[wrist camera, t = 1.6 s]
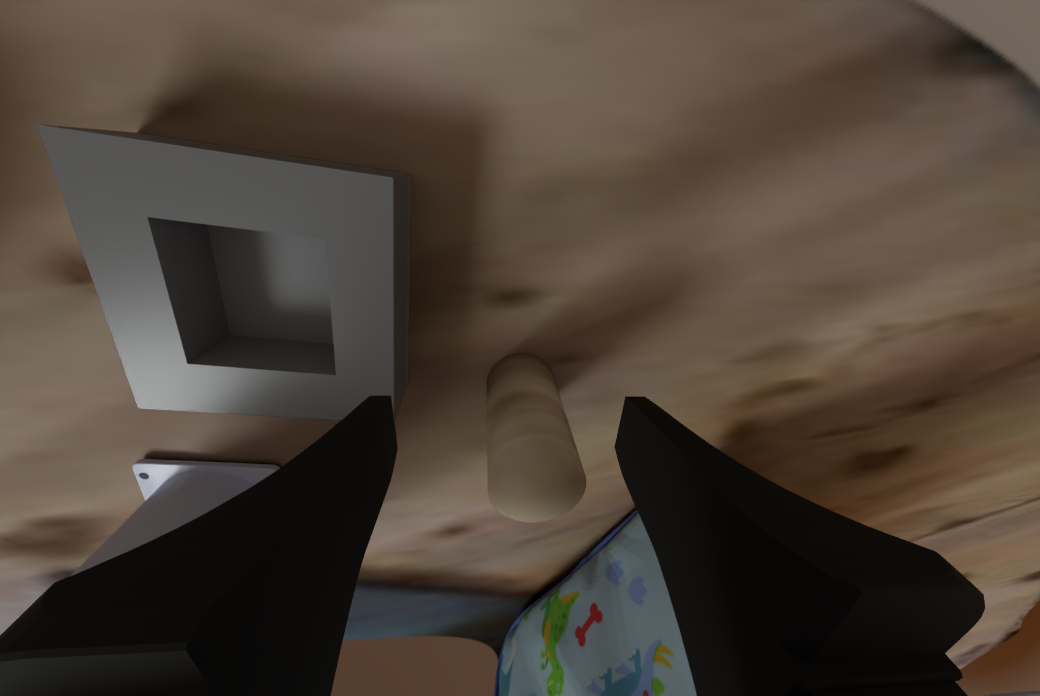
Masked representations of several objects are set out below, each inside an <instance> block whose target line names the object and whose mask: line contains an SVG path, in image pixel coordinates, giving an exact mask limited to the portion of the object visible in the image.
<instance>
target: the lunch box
mask: <svg viewBox="0 0 1040 696" xmlns="http://www.w3.org/2000/svg"><path fill="white" fill-rule="evenodd" d="M494 696H697V695H696V690H695V686H694V682H693V678H692V674H691V671H690V667H689V663H688V660H687V656H686V652H685V648H684V645H683V641H682V637H681V634H680V630H679V627H678V623H677V620H676V617H675V613H674V610H673V606H672V603H671V600H670V596H669V593H668V590H667V587H666V584H665V580H664V577H663V574H662V571H661V568H660V565H659V562H658V559H657V556H656V553H655V551H654V548H653V546H652V543H651V541H650V538H649V536H648V534H647V532H646V529H645V527H644V525H643V522H642V520H641V518H640V515H639V513H638V511H637V509H636V510H635V511H634V512H633V513H632V514H631V515H630V516H629V517H628V518H627V519H626V520H625V521H624V522H622V523H621V524H620V525H619V526H618V527H617V528H616V529H615V530H614V531H612V532H611V533H610V534H609V535H608V536H607V537H606V538H605V539H604V540H603V541H602V542H600V543H599V544H598V545H597V546H596V547H595V548H594V549H593V550H592V551H591V552H590V553H589V554H588V556H586V557H584V558H583V559H582V561H581V562H580V563H579V564H578V566H577V567H576V568H575V569H574V571H573V572H571V573H570V574H569V575H568V576H567V577H566V578H564V579H563V580H562V581H561V582H560V583H559V584H557V585H556V586H555V587H553V588H552V589H551V590H550V591H548V592H547V593H546V594H544V595H543V596H542V597H541V598H539V599H538V600H537V601H536V602H534V603H533V604H531V605H530V606H529V607H528V608H527V609H526V610H524V611H523V612H522V613H521V614H520V616H519V617H518V618H517V619H516V620H515V622H514V623H513V625H512V626H511V628H510V630H509V632H508V634H507V636H506V638H505V641H504V644H503V647H502V650H501V654H500V658H499V662H498V667H497V672H496V681H495V693H494Z"/></svg>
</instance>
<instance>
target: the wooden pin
mask: <svg viewBox="0 0 1040 696" xmlns="http://www.w3.org/2000/svg"><path fill="white" fill-rule="evenodd" d="M487 456H488V496H489V499H490V501H491V503H492V505H493V506H494V508H495V509H496V510H497V511H498V512H500V513H501V514H502V515H504V516H506V517H508V518H510V519H513V520H516V521H521V522H542V521H547V520H551V519H554V518H557V517H559V516H561V515H563V514H565V513H566V512H568V511H570V510H571V509H572V508H573V507H574V506H575V505H576V504H577V503H578V502H579V501H580V499H581V498H582V496H583V494H584V491H585V488H586V476H585V473H584V470H583V467H582V464H581V461H580V458H579V454H578V451H577V448H576V445H575V442H574V439H573V436H572V433H571V430H570V427H569V423H568V420H567V417H566V414H565V411H564V408H563V405H562V402H561V399H560V396H559V392H558V389H557V386H556V383H555V380H554V377H553V374H552V371H551V369H550V368H549V366H548V365H547V364H546V363H545V362H544V361H543V360H541V359H540V358H538V357H536V356H533V355H528V354H515V355H511V356H508V357H506V358H504V359H502V360H500V361H499V362H498V363H496V364H495V365H494V367H493V368H492V369H491V371H490V373H489V375H488V378H487Z"/></svg>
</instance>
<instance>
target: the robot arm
mask: <svg viewBox="0 0 1040 696" xmlns="http://www.w3.org/2000/svg"><path fill="white" fill-rule="evenodd" d="M397 449H398V448H397V440H396V432H395V424H394V416H393V407H392V399H391V396H369V397H368V398H367V399H365V400H364V401H363V402H362V403H361V404H360V405H358V406H357V407H356V408H355V409H354V410H353V411H352V412H350V413H349V414H348V415H347V416H346V417H345V418H344V419H342V420H341V421H340V422H339V423H338V424H336V425H335V426H334V427H333V428H332V429H331V430H329V431H328V432H327V433H326V434H325V435H323V436H322V437H321V438H320V439H318V440H317V441H316V442H314V443H313V444H312V445H311V446H309V447H308V448H307V449H305V450H304V451H303V452H301V453H300V454H299V455H297V456H296V457H295V458H294V459H292V460H291V461H289V462H288V463H287V464H285V465H284V466H282V467H281V468H279V467H278V466H276V465H270V464H248V463H225V462H203V461H180V460H158V459H140V460H138V461H137V462H136V463H134V464H133V466H132V468H133V471H134V473H135V476H136V478H137V481H138V483H139V486H140V488H141V491H142V493H143V496H144V499H145V502H144V503H143V504H142V505H141V506H140V507H139V508H138V509H137V510H136V511H135V512H134V513H133V514H132V515H131V516H130V517H129V518H128V519H127V520H126V521H125V522H124V523H123V524H122V525H121V526H120V527H119V528H118V529H117V530H116V531H115V532H114V533H113V534H112V535H111V536H110V537H109V538H108V539H107V540H106V541H105V542H104V543H103V544H102V545H101V546H100V547H99V548H98V549H97V550H96V551H95V552H94V553H93V554H92V555H91V556H90V557H89V558H88V559H87V560H86V561H85V562H84V563H83V564H82V565H81V566H80V567H79V568H78V569H77V570H76V571H75V572H74V573H73V574H72V575H71V576H70V577H67V578H65V579H62V580H60V581H58V582H55V583H54V584H53V585H52V586H51V587H50V588H49V589H47V590H46V591H45V592H44V593H43V594H42V595H41V596H40V597H39V598H38V599H37V600H36V601H35V602H34V603H33V604H32V605H31V606H30V607H29V608H28V609H27V610H26V611H25V612H24V613H23V614H22V615H21V616H20V617H19V618H18V619H17V620H16V621H15V622H14V623H13V624H12V625H11V626H10V627H9V628H8V629H7V630H6V631H5V632H3V633H2V634H1V635H0V696H330V695H331V690H332V685H333V682H334V677H335V672H336V668H337V663H338V658H339V654H340V649H341V645H342V641H343V636H344V632H345V628H346V624H347V619H348V615H349V611H350V607H351V603H352V599H353V595H354V591H355V587H356V583H357V579H358V575H359V571H360V567H361V564H362V561H363V558H364V554H365V551H366V548H367V546H368V543H369V540H370V537H371V534H372V532H373V529H374V526H375V523H376V520H377V518H378V515H379V512H380V509H381V507H382V504H383V501H384V498H385V495H386V492H387V489H388V487H389V484H390V481H391V477H392V473H393V468H394V464H395V459H396V454H397ZM615 450H616V454H617V458H618V462H619V465H620V468H621V472H622V475H623V478H624V480H625V483H626V485H627V487H628V490H629V492H630V495H631V497H632V499H633V502H634V504H635V506H636V508H637V511H638V513H639V515H640V518H641V520H642V522H643V525H644V527H645V529H646V532H647V534H648V536H649V538H650V541H651V543H652V546H653V548H654V551H655V553H656V556H657V559H658V562H659V565H660V568H661V571H662V574H663V577H664V580H665V584H666V587H667V590H668V593H669V596H670V600H671V603H672V606H673V610H674V613H675V617H676V620H677V623H678V627H679V630H680V634H681V637H682V641H683V645H684V648H685V652H686V656H687V660H688V663H689V667H690V671H691V674H692V678H693V682H694V686H695V690H696V695H697V696H967V694H965V692H964V691H963V690H962V689H961V688H960V687H959V685H958V684H957V683H956V682H955V681H958V680H960V679H961V678H962V677H963V676H962V673H961V671H960V670H959V668H958V667H957V666H956V665H955V664H954V663H953V662H952V661H951V660H950V659H949V658H948V656H947V655H946V654H945V653H946V652H947V651H948V650H949V649H950V648H951V647H952V646H953V645H954V644H955V643H956V642H957V641H959V640H960V639H961V638H962V637H963V636H964V635H965V634H966V633H967V632H968V631H969V630H970V629H971V628H972V627H973V626H974V625H975V624H976V623H977V622H978V621H979V619H980V618H981V617H982V614H983V612H984V610H985V602H984V595H983V594H982V593H981V592H980V591H979V590H978V589H977V588H976V587H975V586H974V585H973V584H972V583H971V582H970V581H968V580H967V579H966V578H965V577H964V576H963V575H962V574H961V573H960V572H959V571H957V570H956V569H955V568H954V567H953V566H952V565H951V564H950V563H949V562H947V561H946V560H945V559H944V558H943V557H942V556H941V555H939V554H938V553H937V552H935V551H933V550H930V549H927V548H925V547H922V546H919V545H917V544H914V543H911V542H908V541H906V540H903V539H900V538H898V537H895V536H892V535H889V534H887V533H884V532H881V531H878V530H876V529H873V528H871V527H868V526H866V525H863V524H861V523H859V522H856V521H854V520H851V519H849V518H847V517H844V516H842V515H840V514H837V513H835V512H833V511H830V510H828V509H826V508H824V507H822V506H819V505H817V504H815V503H813V502H811V501H809V500H807V499H805V498H803V497H801V496H799V495H797V494H794V493H792V492H790V491H788V490H786V489H784V488H782V487H781V486H779V485H777V484H775V483H773V482H771V481H769V480H767V479H766V478H764V477H762V476H760V475H759V474H757V473H755V472H753V471H752V470H750V469H748V468H746V467H745V466H743V465H741V464H740V463H738V462H737V461H735V460H733V459H732V458H730V457H729V456H727V455H726V454H724V453H723V452H721V451H720V450H718V449H717V448H715V447H713V446H712V445H711V444H709V443H708V442H706V441H705V440H703V439H702V438H701V437H699V436H698V435H696V434H695V433H694V432H692V431H691V430H689V429H688V428H687V427H685V426H684V425H683V424H681V423H680V422H679V421H677V420H676V419H675V418H673V417H672V416H671V415H669V414H668V413H667V412H665V411H664V410H663V409H661V408H660V407H659V406H657V405H656V404H655V403H653V402H652V401H650V400H649V399H647V398H646V397H625V401H624V406H623V411H622V415H621V420H620V425H619V429H618V434H617V439H616V443H615ZM984 696H1040V691H1027V692H1012V693H998V694H990V695H984Z"/></svg>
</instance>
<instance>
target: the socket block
mask: <svg viewBox="0 0 1040 696" xmlns="http://www.w3.org/2000/svg"><path fill="white" fill-rule="evenodd" d="M37 126H38V129H39V132H40V134H41V137H42V140H43V143H44V146H45V148H46V151H47V154H48V157H49V160H50V162H51V165H52V168H53V171H54V173H55V176H56V179H57V182H58V185H59V187H60V190H61V193H62V196H63V199H64V201H65V204H66V207H67V210H68V213H69V215H70V218H71V221H72V224H73V227H74V229H75V232H76V235H77V238H78V241H79V243H80V246H81V249H82V252H83V255H84V257H85V260H86V263H87V266H88V269H89V271H90V274H91V277H92V280H93V283H94V285H95V288H96V291H97V294H98V297H99V299H100V302H101V305H102V308H103V311H104V313H105V316H106V319H107V322H108V325H109V327H110V330H111V333H112V336H113V339H114V341H115V344H116V347H117V350H118V353H119V355H120V358H121V361H122V364H123V366H124V369H125V372H126V375H127V378H128V380H129V383H130V386H131V389H132V392H133V394H134V397H135V400H136V403H137V406H138V408H144V409H160V410H177V411H193V412H210V413H226V414H242V415H259V416H275V417H291V418H308V419H324V420H340V421H341V420H342V419H344V418H345V417H346V416H347V415H348V414H349V413H350V412H352V411H353V410H354V409H355V408H356V407H357V406H358V405H360V404H361V403H362V402H363V401H364V400H365V399H367V398H368V397H369V396H391V399H392V407H393V416H394V422H395V419H396V416H397V413H398V410H399V407H400V404H401V401H402V398H403V396H404V393H405V390H406V387H407V384H408V351H409V294H410V236H411V178H412V174H405V173H399V172H392V171H386V170H379V169H372V168H366V167H359V166H353V165H346V164H339V163H333V162H326V161H320V160H313V159H306V158H300V157H293V156H287V155H280V154H273V153H267V152H260V151H254V150H247V149H240V148H234V147H227V146H221V145H214V144H208V143H201V142H194V141H188V140H181V139H175V138H168V137H161V136H155V135H148V134H142V133H134V132H122V131H110V130H98V129H86V128H74V127H62V126H50V125H38V124H37Z"/></svg>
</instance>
